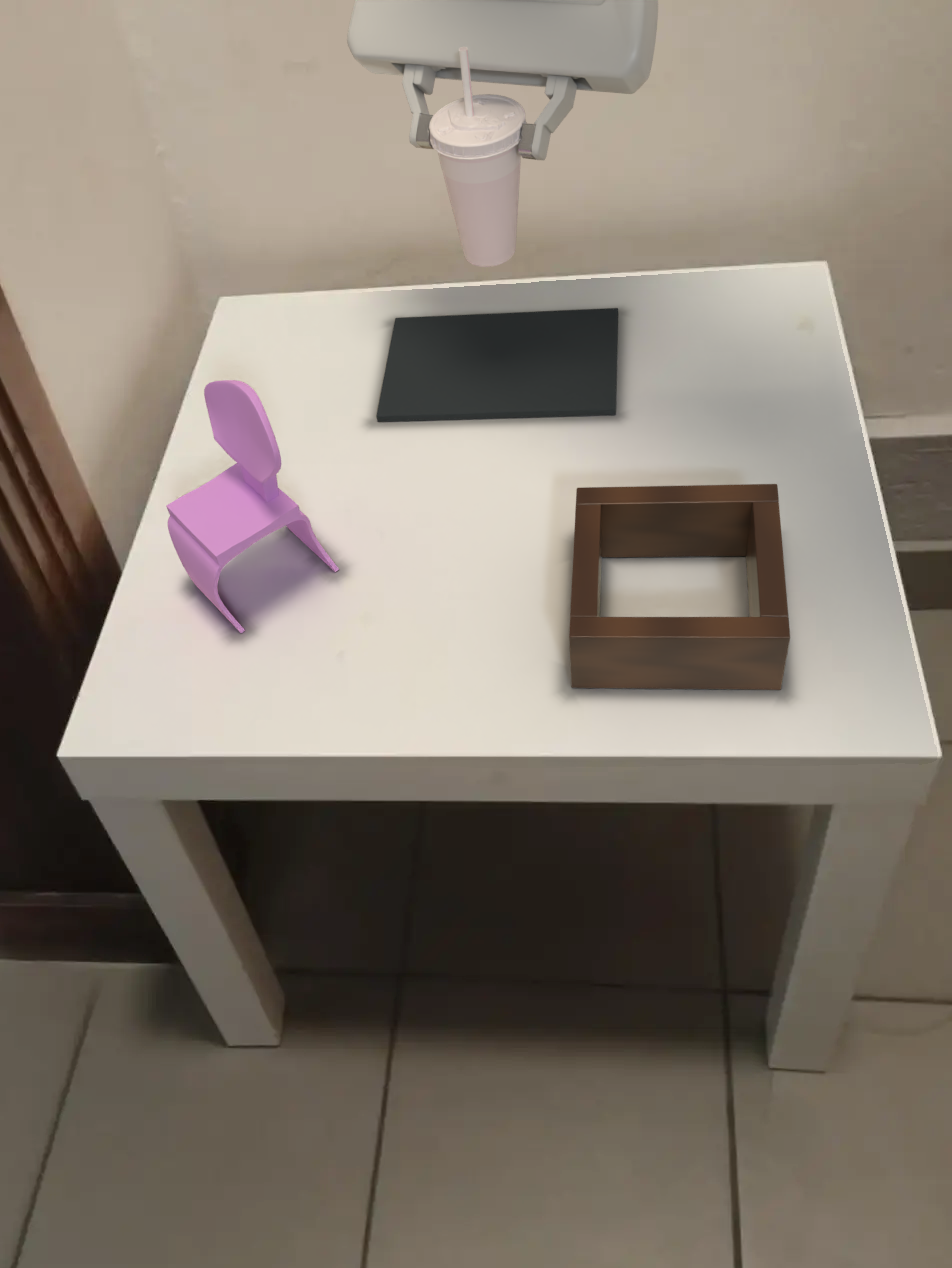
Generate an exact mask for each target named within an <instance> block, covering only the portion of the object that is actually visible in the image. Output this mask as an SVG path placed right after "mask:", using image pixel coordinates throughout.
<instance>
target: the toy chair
mask: <svg viewBox="0 0 952 1268" xmlns="http://www.w3.org/2000/svg"><path fill="white" fill-rule="evenodd" d="M203 394H204V402H205V405H206V409H207V414H208V418H209V421H210V426H211V430H212V435H213V439H214V441H215V442H216V443H217V444H218V445H219V447H221V449H222V450H223V451H224V452H225V453H226V454H227V455H228V456H229V457H230V458H231V459H232V460H233V461H234V462H235V463H234V464H232V465H231V466H229V467H228V468H226V469H225V470H224V471H222V472H221V473H219V474H218V475H216V476H215V477H213V478H212V479H210V480H209V481H207V482H205V483H204V484H202V485H199V487H197V488H195V489H192V490H190V491H189V492H187V493H185V494H183V495H182V496H179V497H178V498H177V499H175V500H173V501H171V502H170V503H168V504H166V506H165V507H166V509H167V511H168V514H169V517H168V519H167V530H168V534H169V536H170V540H171V542H172V545H173V547H174V550H175V552H176V555H177V556H178V559H179V561H180V562H181V565H182V567H183V568H184V570H185V572H186V574H187V575H188V577H189V578H190V580H191V581H192V583H193V584H194V586H196V587H197V588H198V589H199V591H200V592H201V593H202V594H203V595H204V597H206V598H207V599H208V600H209V601H210V602H211V603H212V605H214V606H215V608H216V609H217V610H219V612H220V613H221V614H222V615H223V617H225V619H227V620H228V621H229V622H230V624H231V625H232V626H233V627H234V628H235V630H237V631H238V632H239V634H240V633H241V634H242V633H244V632H245V631H246V630H245V628H244V627H243V626H242V624H240V622H238V620H237V619H236V618H235V617H234V616H233V614H232V613H231V611H229V610H228V608H227V607H226V605H225V604H224V602H223V601H222V599H221V597H220V595H219V589H218V586H219V585H218V584H219V579H220V577H221V573H222V570H223V569H224V568H225V566H227V564H228V563H230V562H231V561H232V560H234V559H235V558H236V557H238V556H239V555H241V554H242V553H243V552H244V551H245V550H248V548H250V547H252V546H253V545H254V544H256V543H257V542H259V541H260V540H262V539H263V538H265V537H267V536H269V535H271V534H272V533H274V532H276V531H278V530H280V529H282V528H284V527H286V528H287V529H288V530H289V531H291V533H293V534H294V535H295V536H296V537H297V538H298V539H299V540H300V541H301V542H302V543H303V544H304V545H305V546H306V547H308V548H309V549H310V550H311V552H313V553H314V554H315V555H316V556H317V557H318V558H319V559H320V560H321V561H322V562H323V563H325V565H327V567H329V569H331V570H332V571H333V572H334V573H336V572H338V571H339V570H340V569H339V567H338V565H337V564H336V563H335V562H334V560H333V559H332V557H330V555H329V554H328V552H327V551H326V550H325V548H324V547H323V546H322V544H321V543H320V541H319V540H318V538H317V536H316V535H315V532H314V530H313V527H312V523H311V520H310V519H309V517H308V516H307V515H306V514H305V513H304V512H303V511H302V510H301V509H300V506H299V504H297V502H295V500H293V499H292V498H291V497H290V496H289V495H288V494H286V493H285V492H284V491H283V490H282V489H281V488H280V487H279V484H278V477H277V474H278V473H279V472H280V470H281V469H282V456H281V451H280V448H279V445H278V442H277V439H276V435H275V433H274V430H273V427H272V424H271V421H270V419H269V417H268V414H267V412H266V410H265V408H264V407H265V406H264V405H263V403H262V401H261V399H260V397H259V395H258V393H257V392H256V391H255V390H254V388H253V387H252V386H250V385H249V384H247V383H246V382H244V381H241V380H237V379H221V380H214V381H211V382H208V383H207V384H206V385H205V387H204V389H203Z"/></svg>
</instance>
